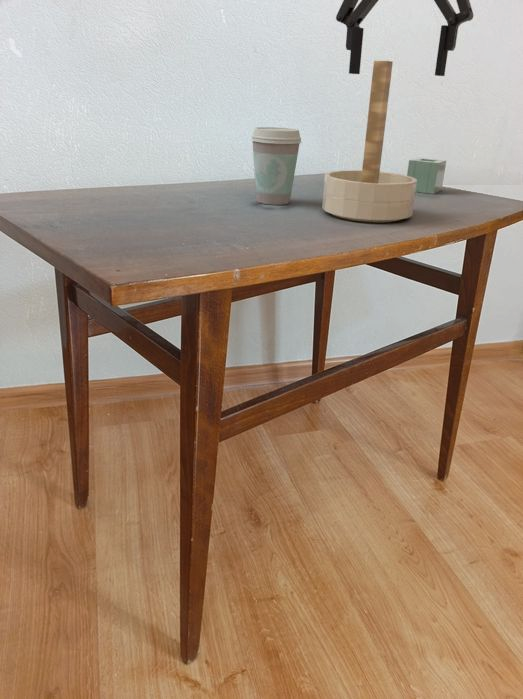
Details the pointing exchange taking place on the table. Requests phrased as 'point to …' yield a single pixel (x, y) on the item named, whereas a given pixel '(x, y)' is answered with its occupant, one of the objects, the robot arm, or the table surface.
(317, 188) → the table surface
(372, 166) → the stick
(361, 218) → the bowl
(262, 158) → the coffee cup
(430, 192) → the holder
